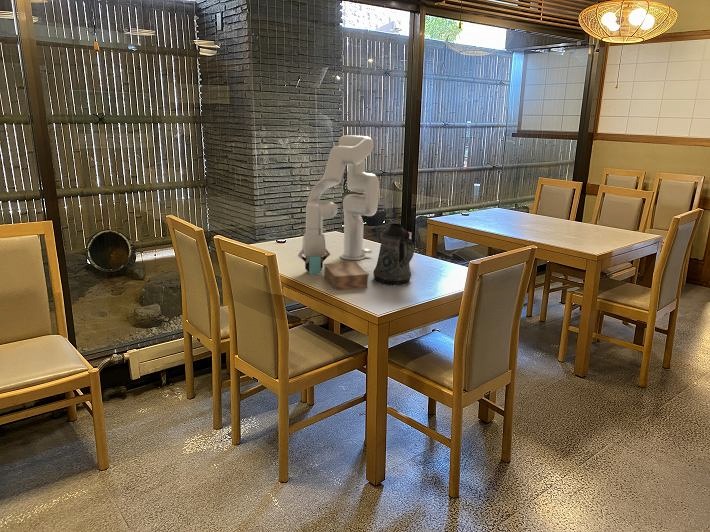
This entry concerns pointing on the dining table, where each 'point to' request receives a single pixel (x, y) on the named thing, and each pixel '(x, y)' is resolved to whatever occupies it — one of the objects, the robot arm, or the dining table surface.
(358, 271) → the walnut box
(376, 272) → the beer stein
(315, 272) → the teal block
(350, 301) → the dining table surface
